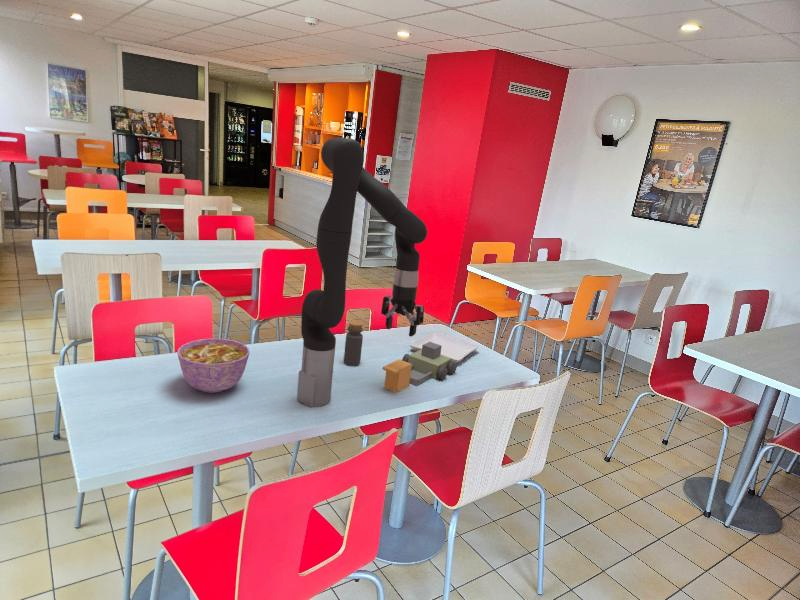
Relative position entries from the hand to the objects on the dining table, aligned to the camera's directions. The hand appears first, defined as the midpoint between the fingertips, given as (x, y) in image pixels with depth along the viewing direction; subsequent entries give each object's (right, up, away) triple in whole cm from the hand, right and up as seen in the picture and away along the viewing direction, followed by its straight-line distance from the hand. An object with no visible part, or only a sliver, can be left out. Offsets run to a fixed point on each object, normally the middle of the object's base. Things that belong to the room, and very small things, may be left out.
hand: (400, 332), depth 169 cm
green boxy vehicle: (+8, -16, +18) cm, 25 cm away
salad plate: (+17, -11, +41) cm, 46 cm away
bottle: (-17, -12, +19) cm, 29 cm away
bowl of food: (-56, -16, -10) cm, 59 cm away
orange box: (-2, -18, +4) cm, 19 cm away
